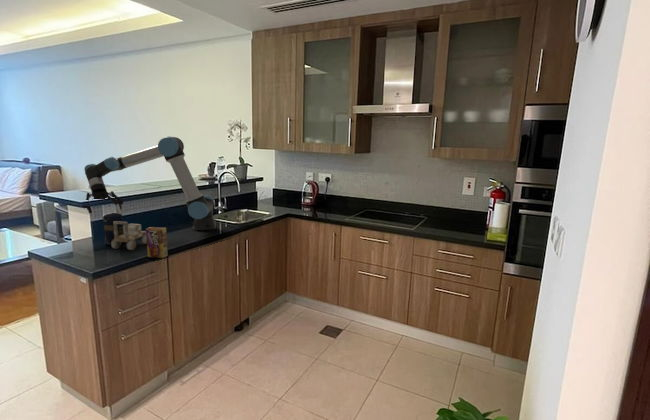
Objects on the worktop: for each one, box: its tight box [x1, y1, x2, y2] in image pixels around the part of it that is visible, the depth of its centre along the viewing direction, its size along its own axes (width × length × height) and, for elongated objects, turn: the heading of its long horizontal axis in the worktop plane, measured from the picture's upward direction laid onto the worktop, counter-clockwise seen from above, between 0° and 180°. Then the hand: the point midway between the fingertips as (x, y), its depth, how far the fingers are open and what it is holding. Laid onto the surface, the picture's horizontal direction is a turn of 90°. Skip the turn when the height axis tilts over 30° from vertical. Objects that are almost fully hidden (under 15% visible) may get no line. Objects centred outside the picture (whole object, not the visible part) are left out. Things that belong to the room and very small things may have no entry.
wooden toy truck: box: [111, 221, 147, 251], centre depth 193 cm, size 18×11×16 cm, turn 172°
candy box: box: [145, 226, 169, 259], centre depth 178 cm, size 9×4×15 cm, turn 86°
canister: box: [102, 212, 124, 245], centre depth 197 cm, size 10×10×18 cm
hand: (107, 215), depth 199 cm, fingers open, 13 cm apart
